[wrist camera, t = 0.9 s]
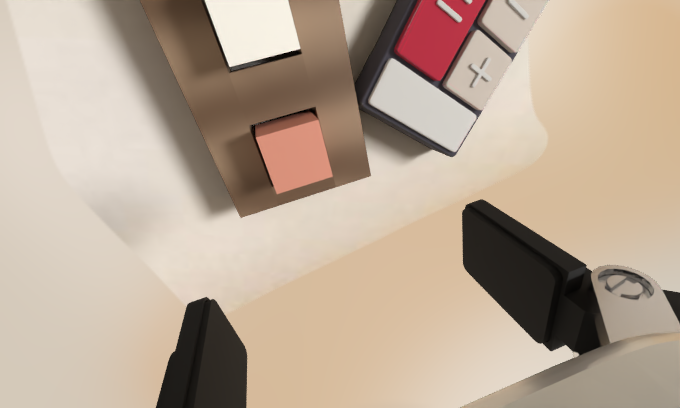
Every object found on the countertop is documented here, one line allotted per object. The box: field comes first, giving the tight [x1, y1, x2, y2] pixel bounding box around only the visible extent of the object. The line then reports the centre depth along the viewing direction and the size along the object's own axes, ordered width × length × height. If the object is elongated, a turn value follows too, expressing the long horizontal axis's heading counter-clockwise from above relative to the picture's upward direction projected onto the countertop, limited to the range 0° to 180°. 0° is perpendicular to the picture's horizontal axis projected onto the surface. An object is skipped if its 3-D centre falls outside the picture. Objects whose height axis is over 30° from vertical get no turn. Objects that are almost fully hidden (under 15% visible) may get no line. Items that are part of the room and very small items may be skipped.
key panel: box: [140, 0, 371, 218], centre depth 23 cm, size 18×12×3 cm, turn 14°
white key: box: [205, 0, 300, 67], centre depth 19 cm, size 4×4×4 cm
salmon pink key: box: [255, 110, 333, 194], centre depth 23 cm, size 4×4×4 cm
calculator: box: [354, 0, 549, 157], centre depth 25 cm, size 11×4×15 cm
